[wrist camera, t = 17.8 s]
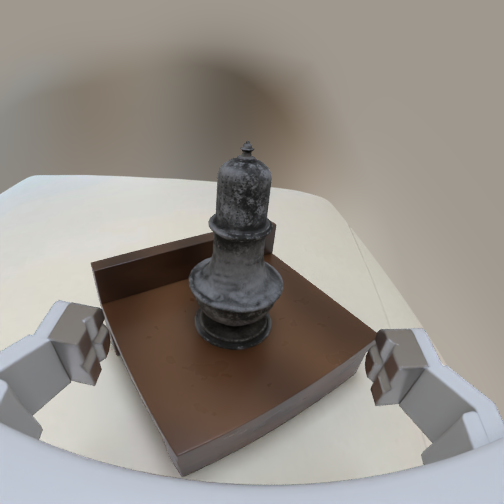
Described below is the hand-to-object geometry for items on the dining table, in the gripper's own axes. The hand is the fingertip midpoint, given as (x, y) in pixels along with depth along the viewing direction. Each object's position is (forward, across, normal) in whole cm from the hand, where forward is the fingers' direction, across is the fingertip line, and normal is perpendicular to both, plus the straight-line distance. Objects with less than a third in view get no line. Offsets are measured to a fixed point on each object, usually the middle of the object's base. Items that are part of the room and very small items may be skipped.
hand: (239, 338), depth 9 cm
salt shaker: (+10, 0, +9) cm, 13 cm away
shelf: (+10, 0, +13) cm, 17 cm away
